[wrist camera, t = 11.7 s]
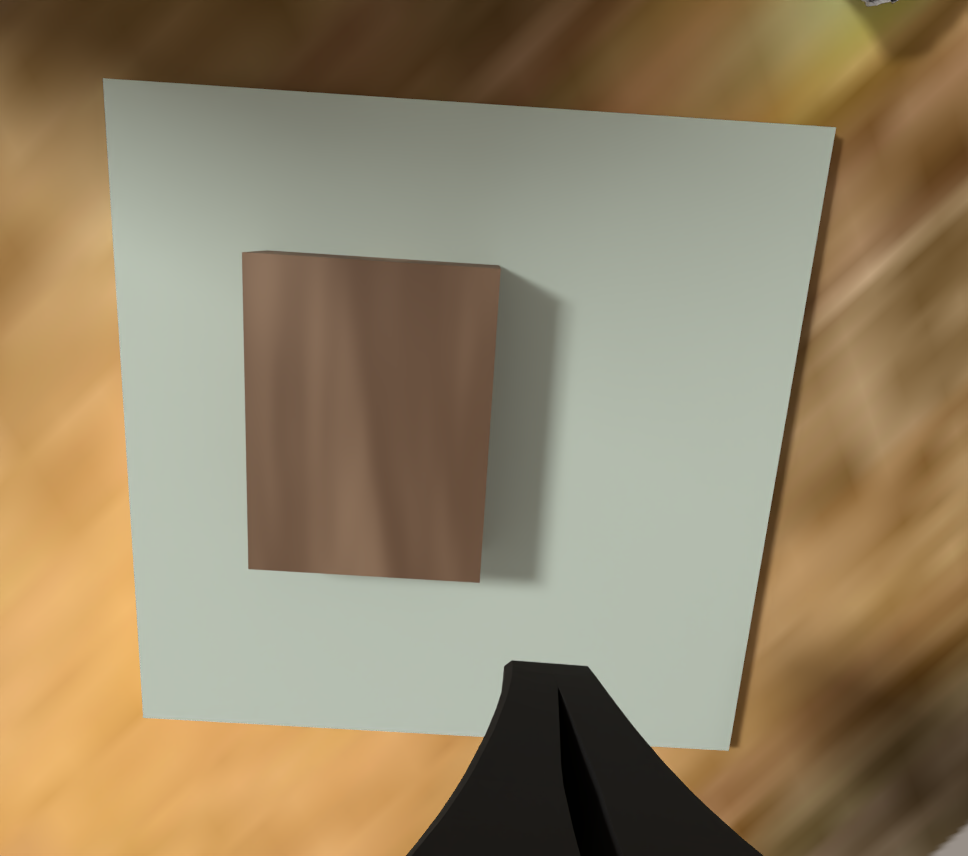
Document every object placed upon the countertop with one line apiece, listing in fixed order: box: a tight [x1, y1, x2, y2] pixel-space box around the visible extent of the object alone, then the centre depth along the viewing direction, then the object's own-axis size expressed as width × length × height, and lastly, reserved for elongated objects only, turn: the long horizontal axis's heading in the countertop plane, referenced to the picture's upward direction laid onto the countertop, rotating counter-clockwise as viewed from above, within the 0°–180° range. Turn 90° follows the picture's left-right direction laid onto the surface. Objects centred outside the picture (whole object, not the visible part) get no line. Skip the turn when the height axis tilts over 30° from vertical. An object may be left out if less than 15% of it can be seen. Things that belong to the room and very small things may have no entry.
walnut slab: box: [242, 250, 501, 583], centre depth 19 cm, size 2×8×6 cm
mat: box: [103, 78, 836, 751], centre depth 21 cm, size 18×18×1 cm
